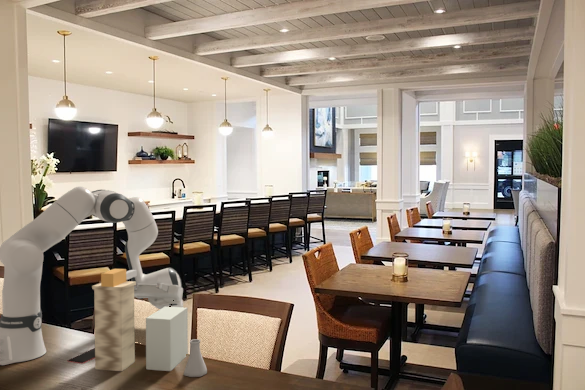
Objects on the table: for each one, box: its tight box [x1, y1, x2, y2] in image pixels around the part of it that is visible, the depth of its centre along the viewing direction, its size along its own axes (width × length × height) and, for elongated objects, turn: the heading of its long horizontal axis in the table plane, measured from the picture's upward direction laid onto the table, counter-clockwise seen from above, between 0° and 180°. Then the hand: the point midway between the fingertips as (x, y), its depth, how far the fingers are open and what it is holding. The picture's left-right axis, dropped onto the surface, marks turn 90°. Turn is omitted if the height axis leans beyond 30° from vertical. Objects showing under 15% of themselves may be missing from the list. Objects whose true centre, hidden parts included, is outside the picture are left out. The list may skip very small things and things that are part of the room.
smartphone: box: [66, 347, 95, 365], centre depth 168 cm, size 7×1×14 cm
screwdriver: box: [100, 268, 137, 287], centre depth 162 cm, size 17×4×4 cm, turn 170°
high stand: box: [91, 280, 136, 372], centre depth 159 cm, size 10×8×26 cm
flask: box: [183, 338, 208, 378], centre depth 153 cm, size 7×7×10 cm
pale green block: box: [145, 306, 189, 372], centre depth 162 cm, size 8×14×16 cm, turn 170°
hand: (145, 284), depth 180 cm, fingers open, 8 cm apart
